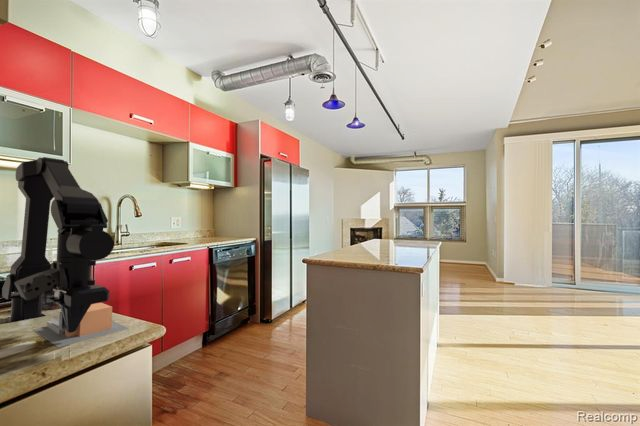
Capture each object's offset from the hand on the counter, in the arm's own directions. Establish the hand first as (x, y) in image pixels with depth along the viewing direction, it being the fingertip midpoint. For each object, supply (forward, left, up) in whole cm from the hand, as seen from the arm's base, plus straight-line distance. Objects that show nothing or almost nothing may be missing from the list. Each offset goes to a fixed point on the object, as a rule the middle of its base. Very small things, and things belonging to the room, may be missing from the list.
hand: (71, 331), depth 62 cm
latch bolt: (-7, 0, 0) cm, 7 cm away
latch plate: (-7, +4, -3) cm, 9 cm away
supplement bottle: (-37, +7, -3) cm, 38 cm away
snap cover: (-5, +5, -2) cm, 7 cm away
